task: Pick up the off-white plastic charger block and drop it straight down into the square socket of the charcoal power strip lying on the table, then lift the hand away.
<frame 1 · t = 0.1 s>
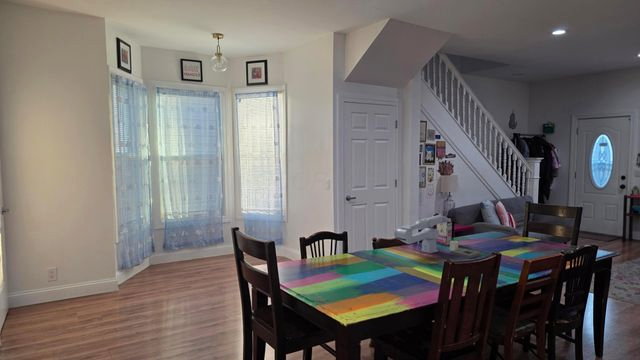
hand: (448, 216, 290), 22 cm above the table, tool horizontal, fingers open, 7 cm apart
charger: (453, 250, 283), on the table
power strip: (465, 254, 271), on the table
candy bar box: (443, 243, 303), on the table
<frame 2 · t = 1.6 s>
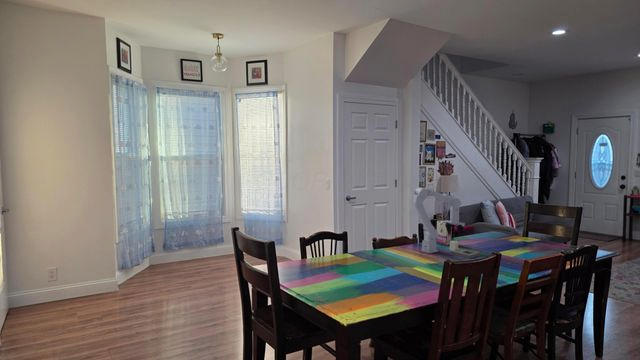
hand: (454, 235, 283), 10 cm above the table, tool pointing down, fingers open, 7 cm apart
nothing on the table moved.
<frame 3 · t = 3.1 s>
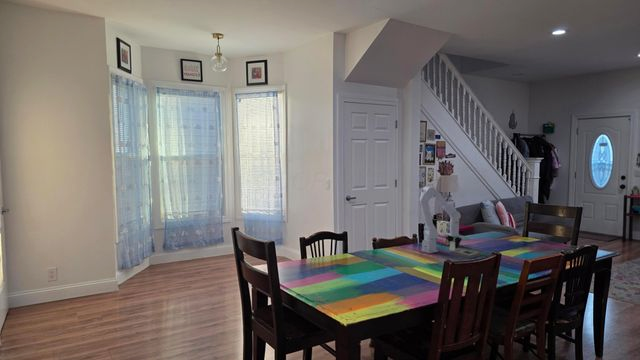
hand: (453, 247, 283), 2 cm above the table, tool pointing down, fingers closed on charger, 4 cm apart
charger: (453, 250, 283), on the table, touching gripper
everything else where it was.
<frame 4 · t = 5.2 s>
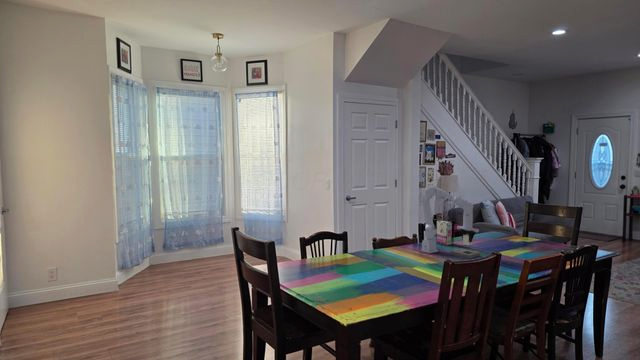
hand: (467, 241, 269), 9 cm above the table, tool pointing down, fingers closed on charger, 4 cm apart
charger: (467, 244, 270), point 7 cm above the table, touching gripper
everything else where it was.
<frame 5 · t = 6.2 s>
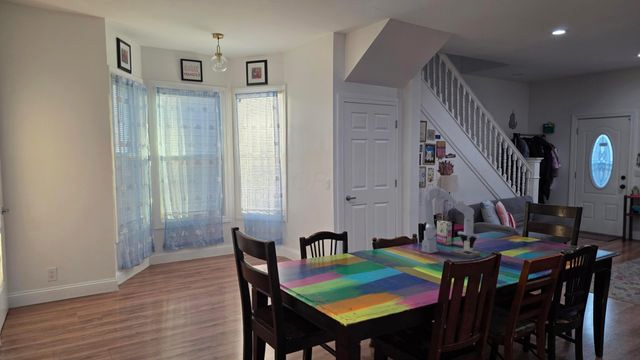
hand: (468, 247, 269), 5 cm above the table, tool pointing down, fingers closed on charger, 4 cm apart
charger: (468, 249, 269), point 4 cm above the table, touching gripper
everything else where it was.
when the fingers open (3 cm above the table, at t = 7.2 s): charger stays where it is, resting on power strip.
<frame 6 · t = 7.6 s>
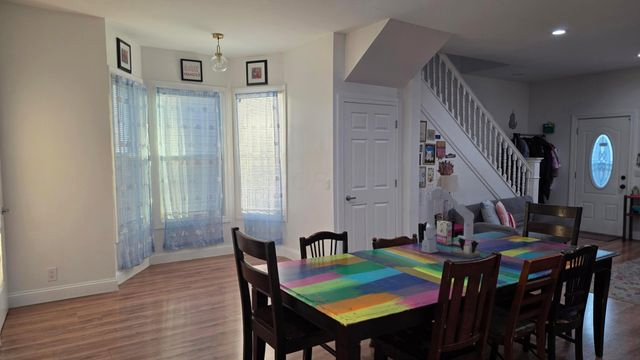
hand: (468, 251, 269), 3 cm above the table, tool pointing down, fingers open, 7 cm apart
charger: (468, 254, 269), resting on power strip
everything else where it was.
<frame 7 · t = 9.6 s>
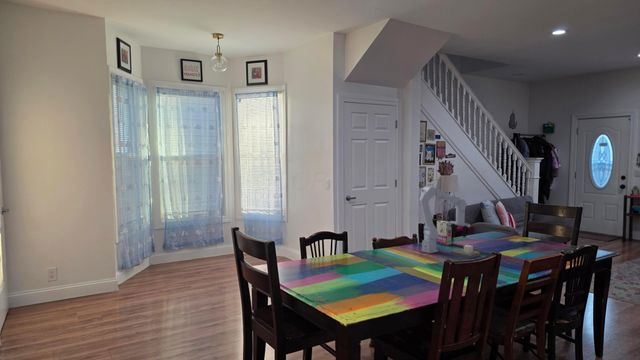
hand: (459, 235, 284), 9 cm above the table, tool pointing down, fingers open, 7 cm apart
nothing on the table moved.
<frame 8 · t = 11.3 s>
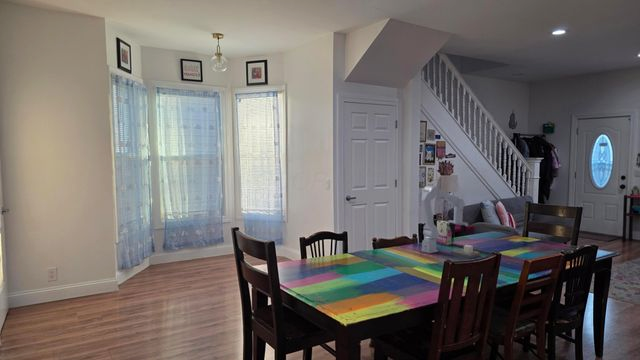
hand: (457, 234, 288), 9 cm above the table, tool pointing down, fingers open, 7 cm apart
nothing on the table moved.
at the end: charger 0.1 cm from the target spot on the power strip, point 0.4 cm above the power strip's base; charger tilted 0°; the gripper is holding nothing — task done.
